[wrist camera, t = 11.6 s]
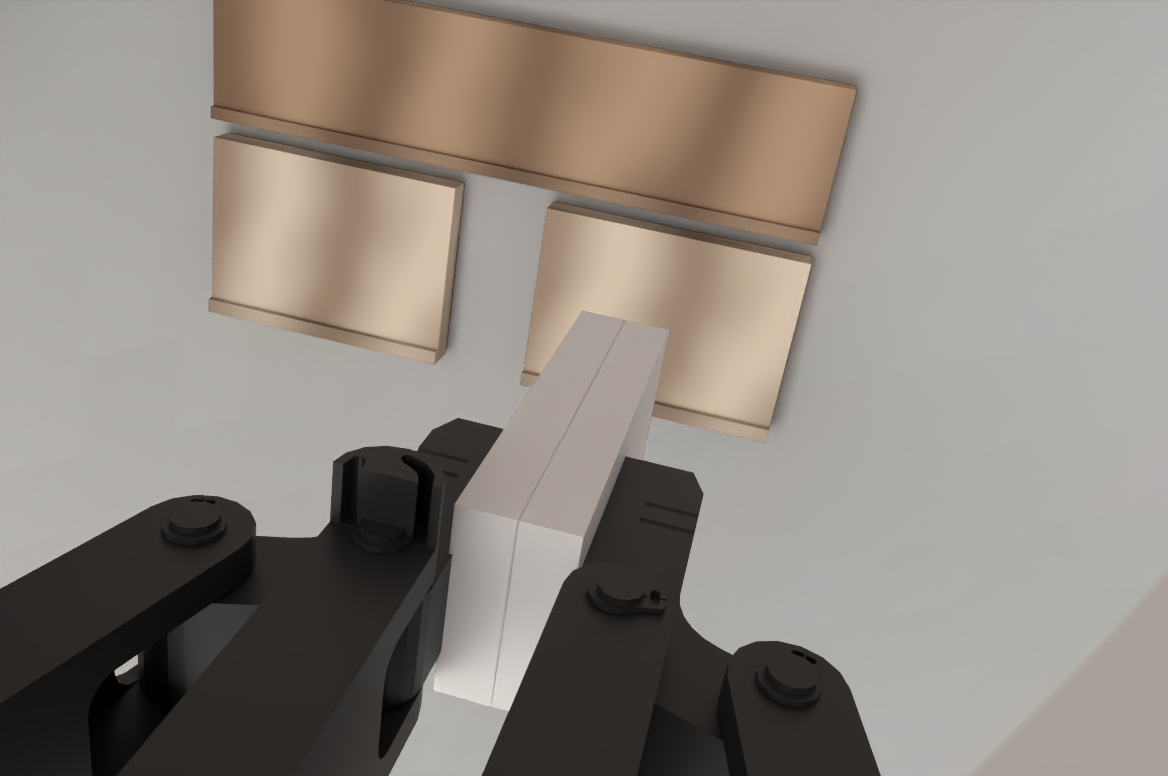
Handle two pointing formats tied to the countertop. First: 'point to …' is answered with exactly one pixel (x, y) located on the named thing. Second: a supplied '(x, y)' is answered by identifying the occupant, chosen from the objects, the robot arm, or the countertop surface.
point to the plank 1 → (334, 246)
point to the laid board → (538, 107)
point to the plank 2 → (675, 310)
